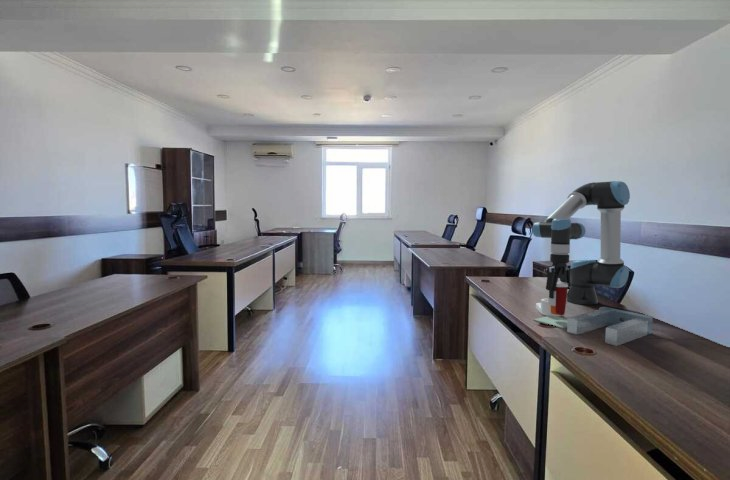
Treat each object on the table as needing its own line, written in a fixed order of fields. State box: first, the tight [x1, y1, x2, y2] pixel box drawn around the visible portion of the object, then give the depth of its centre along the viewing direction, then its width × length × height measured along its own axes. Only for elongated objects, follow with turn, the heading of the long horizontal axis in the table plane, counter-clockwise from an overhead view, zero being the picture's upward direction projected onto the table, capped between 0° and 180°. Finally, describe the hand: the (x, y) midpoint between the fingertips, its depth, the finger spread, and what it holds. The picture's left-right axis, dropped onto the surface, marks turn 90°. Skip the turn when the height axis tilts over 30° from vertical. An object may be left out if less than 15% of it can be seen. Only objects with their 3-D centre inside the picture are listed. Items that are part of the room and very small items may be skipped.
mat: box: [533, 315, 567, 330], centre depth 172 cm, size 14×14×1 cm
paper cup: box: [550, 280, 568, 316], centre depth 171 cm, size 8×8×14 cm
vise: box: [566, 306, 654, 347], centre depth 159 cm, size 37×19×7 cm, turn 121°
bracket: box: [535, 298, 562, 317], centre depth 188 cm, size 20×9×7 cm, turn 165°
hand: (557, 304), depth 171 cm, fingers closed on paper cup, 8 cm apart
